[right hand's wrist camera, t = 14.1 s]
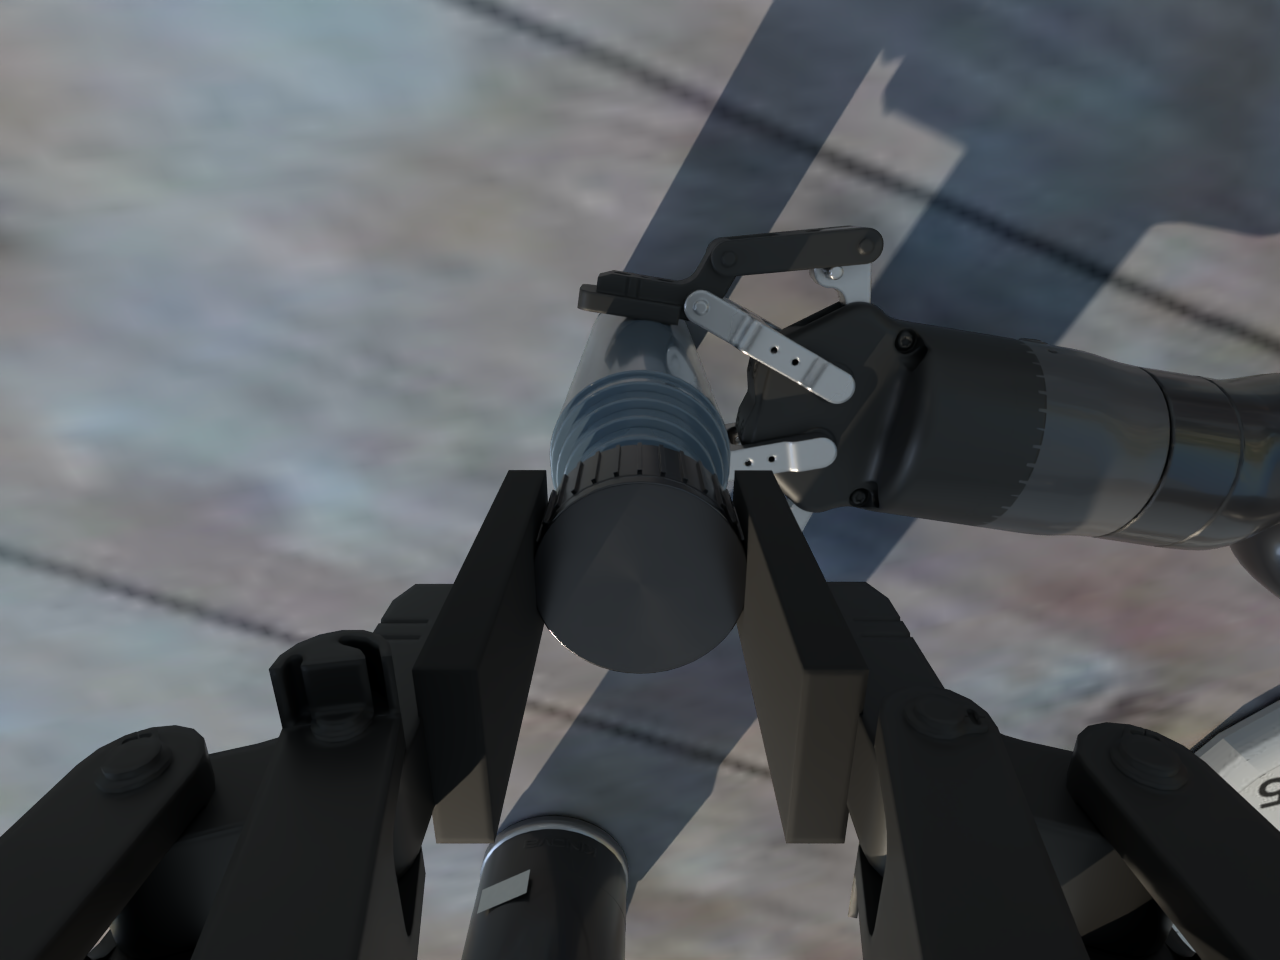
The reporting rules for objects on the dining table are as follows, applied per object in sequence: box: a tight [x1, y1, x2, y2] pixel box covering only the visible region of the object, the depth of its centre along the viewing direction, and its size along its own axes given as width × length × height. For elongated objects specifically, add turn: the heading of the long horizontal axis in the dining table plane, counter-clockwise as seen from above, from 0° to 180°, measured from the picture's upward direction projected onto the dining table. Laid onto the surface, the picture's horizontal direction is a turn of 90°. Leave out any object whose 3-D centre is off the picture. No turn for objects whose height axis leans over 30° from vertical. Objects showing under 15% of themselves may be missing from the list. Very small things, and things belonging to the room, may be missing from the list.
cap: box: [534, 443, 747, 674], centre depth 14 cm, size 4×4×2 cm
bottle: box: [550, 313, 731, 491], centre depth 23 cm, size 5×5×22 cm
